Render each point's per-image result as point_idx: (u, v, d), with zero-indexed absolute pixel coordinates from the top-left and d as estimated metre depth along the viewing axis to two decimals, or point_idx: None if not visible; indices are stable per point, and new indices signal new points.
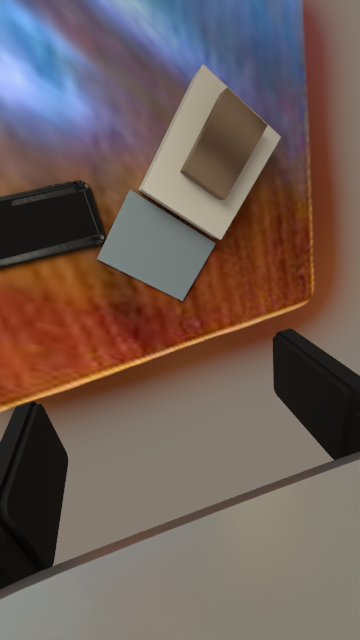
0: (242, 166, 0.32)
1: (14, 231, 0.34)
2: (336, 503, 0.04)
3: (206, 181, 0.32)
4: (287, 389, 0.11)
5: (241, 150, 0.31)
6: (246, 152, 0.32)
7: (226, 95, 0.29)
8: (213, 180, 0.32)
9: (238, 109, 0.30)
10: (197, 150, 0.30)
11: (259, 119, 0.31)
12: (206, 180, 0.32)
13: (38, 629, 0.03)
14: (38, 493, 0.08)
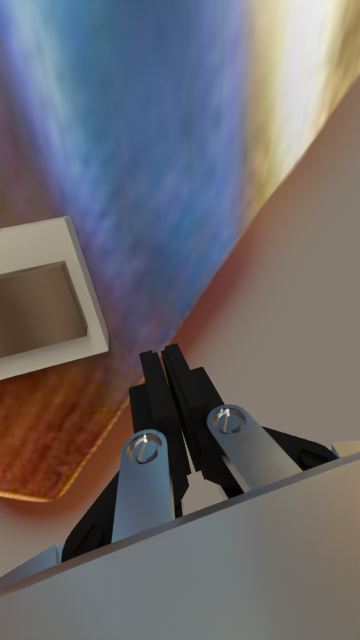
0: (24, 350, 0.22)
1: None
2: (336, 503, 0.04)
3: None
4: (174, 401, 0.11)
5: (34, 334, 0.22)
6: (40, 341, 0.22)
7: (54, 272, 0.20)
8: None
9: (60, 296, 0.21)
10: None
11: (80, 324, 0.22)
12: None
13: (38, 629, 0.03)
14: None
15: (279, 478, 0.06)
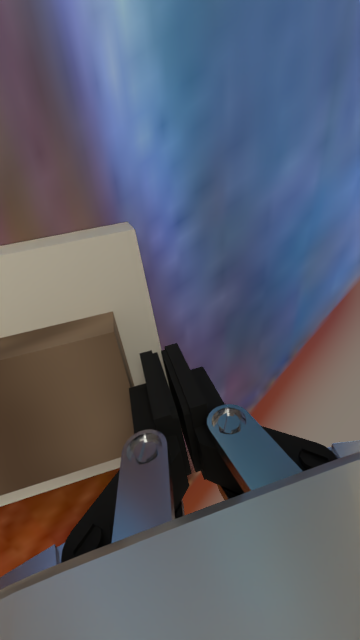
0: (33, 482, 0.11)
1: None
2: (337, 504, 0.04)
3: None
4: (174, 401, 0.11)
5: (53, 455, 0.11)
6: (63, 465, 0.11)
7: (99, 344, 0.10)
8: None
9: (107, 386, 0.10)
10: None
11: None
12: None
13: (38, 629, 0.03)
14: None
15: (279, 478, 0.06)
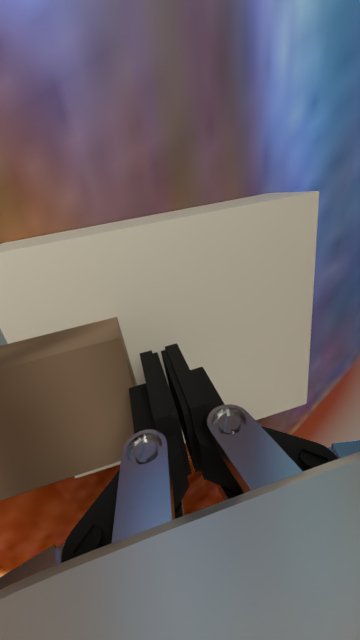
0: (40, 484, 0.12)
1: None
2: (336, 503, 0.04)
3: None
4: (174, 401, 0.11)
5: (60, 458, 0.11)
6: (70, 467, 0.12)
7: (104, 350, 0.10)
8: None
9: (112, 390, 0.11)
10: None
11: None
12: None
13: (38, 629, 0.03)
14: None
15: (279, 478, 0.06)
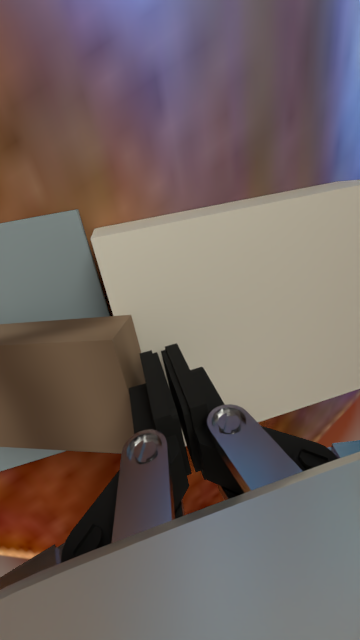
0: (52, 447, 0.13)
1: None
2: (336, 503, 0.04)
3: None
4: (174, 401, 0.11)
5: (65, 432, 0.13)
6: (74, 443, 0.13)
7: (99, 348, 0.10)
8: None
9: (107, 388, 0.11)
10: None
11: None
12: None
13: (38, 629, 0.03)
14: None
15: (279, 478, 0.06)
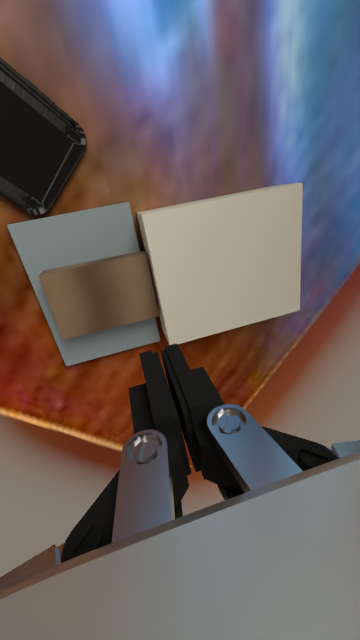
0: (107, 327, 0.25)
1: None
2: (336, 504, 0.04)
3: (55, 307, 0.24)
4: (174, 401, 0.11)
5: (117, 313, 0.25)
6: (121, 319, 0.25)
7: (140, 259, 0.24)
8: (64, 313, 0.24)
9: (142, 280, 0.25)
10: (70, 273, 0.23)
11: (155, 305, 0.26)
12: (56, 305, 0.24)
13: (38, 629, 0.03)
14: None
15: (279, 478, 0.06)
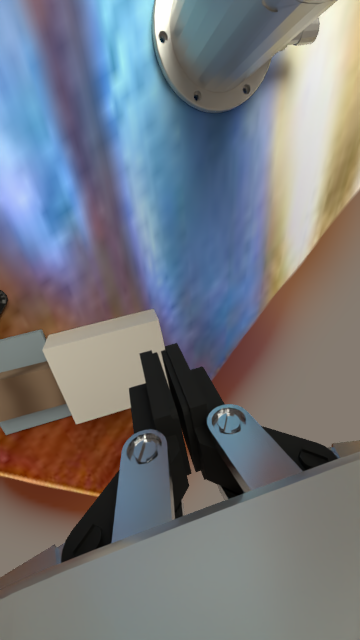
0: (30, 412, 0.36)
1: None
2: (336, 503, 0.04)
3: None
4: (174, 401, 0.11)
5: (36, 403, 0.36)
6: (40, 407, 0.36)
7: (49, 370, 0.35)
8: None
9: (52, 382, 0.35)
10: None
11: None
12: None
13: (38, 629, 0.03)
14: None
15: (279, 478, 0.06)
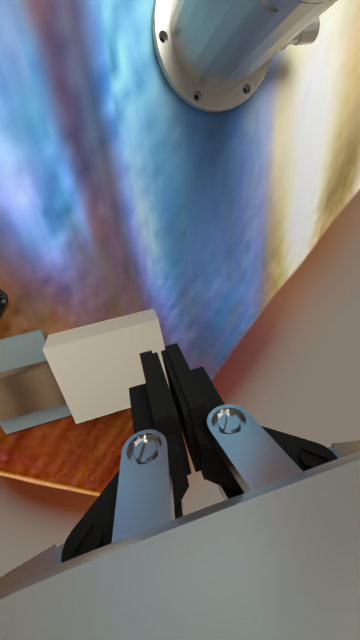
0: (30, 412, 0.36)
1: None
2: (336, 503, 0.04)
3: None
4: (174, 401, 0.11)
5: (36, 403, 0.36)
6: (40, 406, 0.36)
7: (49, 370, 0.35)
8: None
9: (52, 381, 0.35)
10: None
11: None
12: None
13: (38, 629, 0.03)
14: None
15: (279, 478, 0.06)
